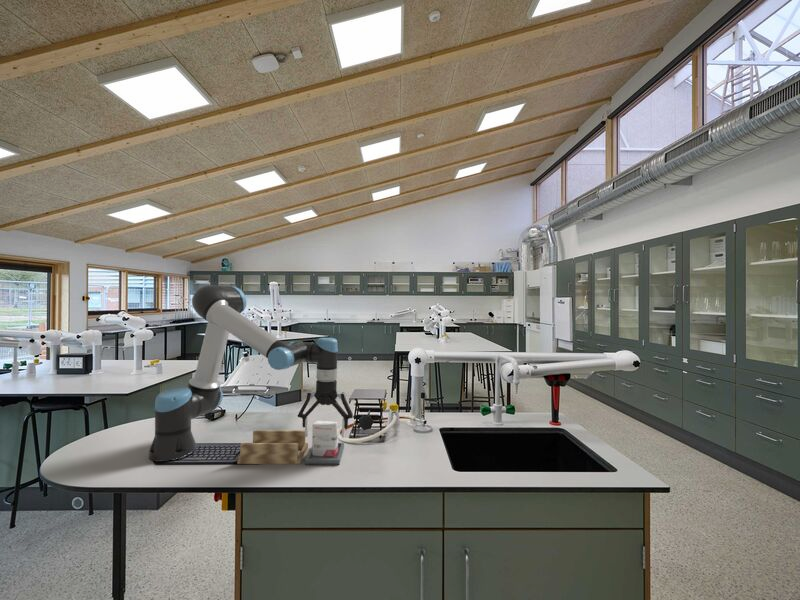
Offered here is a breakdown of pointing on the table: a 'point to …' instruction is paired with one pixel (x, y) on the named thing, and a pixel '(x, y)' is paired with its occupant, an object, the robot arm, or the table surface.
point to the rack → (274, 447)
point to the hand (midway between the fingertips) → (325, 436)
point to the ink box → (325, 438)
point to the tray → (325, 458)
